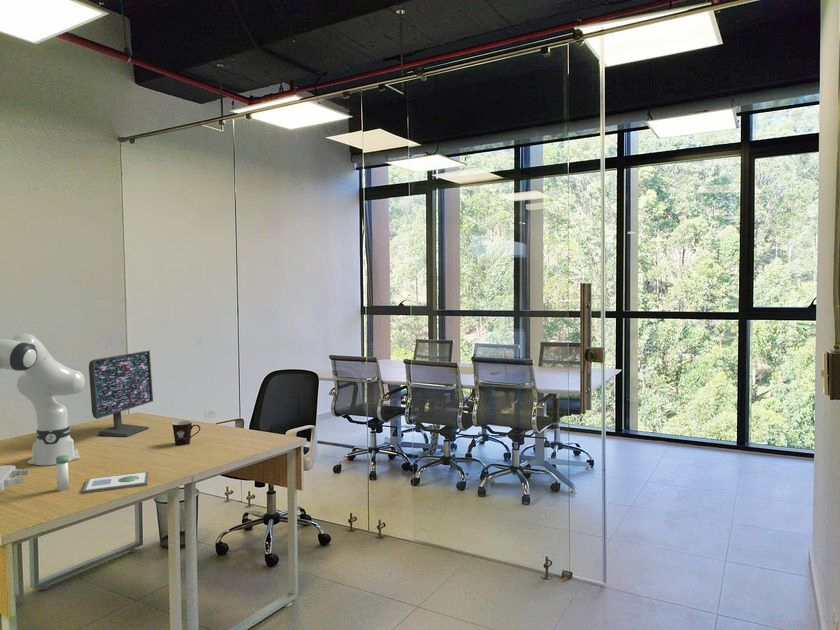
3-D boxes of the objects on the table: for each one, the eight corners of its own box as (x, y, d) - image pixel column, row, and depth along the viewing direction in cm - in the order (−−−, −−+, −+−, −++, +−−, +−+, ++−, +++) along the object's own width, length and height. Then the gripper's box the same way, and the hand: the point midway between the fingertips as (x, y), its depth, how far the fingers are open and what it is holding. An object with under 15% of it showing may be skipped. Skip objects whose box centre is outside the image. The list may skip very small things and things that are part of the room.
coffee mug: (168, 445, 269) (168, 424, 268) (181, 440, 277) (180, 420, 277) (189, 447, 266) (189, 425, 265) (201, 442, 274) (201, 421, 274)
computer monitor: (109, 444, 272) (106, 360, 271) (78, 442, 275) (75, 359, 273) (163, 423, 315) (162, 350, 314) (137, 422, 318) (134, 350, 316)
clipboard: (87, 480, 219) (87, 478, 219) (148, 473, 227) (148, 471, 227) (82, 493, 205) (82, 490, 205) (147, 485, 213) (147, 482, 213)
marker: (57, 488, 211) (56, 456, 210) (69, 486, 212) (68, 454, 212) (56, 491, 207) (54, 458, 207) (68, 490, 209) (67, 457, 208)
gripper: (-33, 481, 190) (17, 475, 195) (-15, 464, 208) (31, 459, 214) (-32, 500, 190) (18, 494, 195) (-14, 481, 209) (31, 476, 214)
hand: (25, 476), depth 205 cm, fingers open, 8 cm apart
